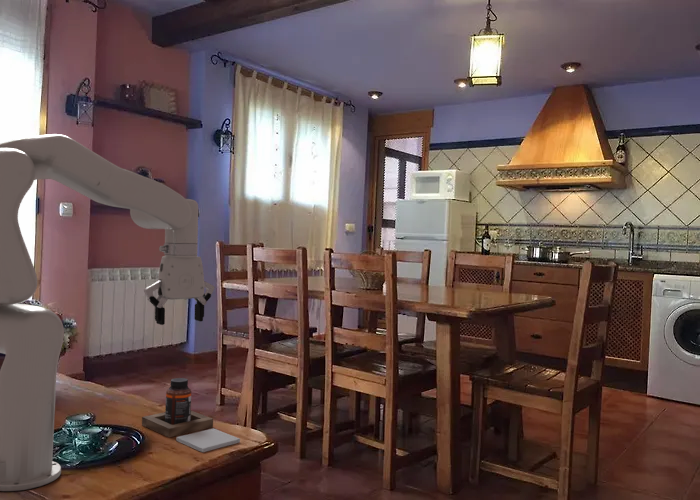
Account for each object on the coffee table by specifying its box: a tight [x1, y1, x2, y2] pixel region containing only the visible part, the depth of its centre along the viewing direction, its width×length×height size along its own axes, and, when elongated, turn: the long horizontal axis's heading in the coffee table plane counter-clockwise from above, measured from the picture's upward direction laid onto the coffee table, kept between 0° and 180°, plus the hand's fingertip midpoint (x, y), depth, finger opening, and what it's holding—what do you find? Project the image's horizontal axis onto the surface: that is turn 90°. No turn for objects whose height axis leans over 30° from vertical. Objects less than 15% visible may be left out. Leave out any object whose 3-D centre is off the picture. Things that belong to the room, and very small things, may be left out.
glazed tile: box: [175, 427, 241, 453], centre depth 132 cm, size 10×10×1 cm
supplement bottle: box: [164, 377, 192, 425], centre depth 141 cm, size 6×6×11 cm
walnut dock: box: [141, 410, 214, 438], centre depth 141 cm, size 12×12×2 cm
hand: (179, 322), depth 139 cm, fingers open, 9 cm apart
